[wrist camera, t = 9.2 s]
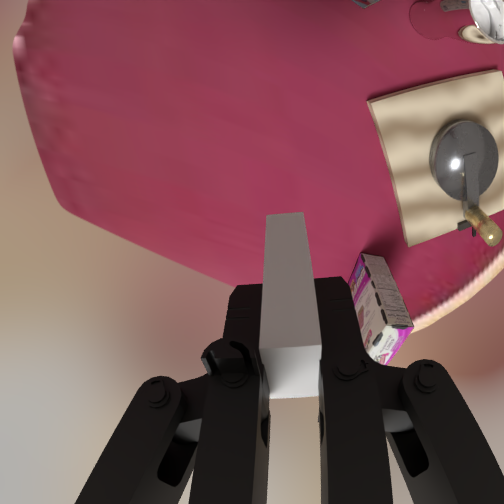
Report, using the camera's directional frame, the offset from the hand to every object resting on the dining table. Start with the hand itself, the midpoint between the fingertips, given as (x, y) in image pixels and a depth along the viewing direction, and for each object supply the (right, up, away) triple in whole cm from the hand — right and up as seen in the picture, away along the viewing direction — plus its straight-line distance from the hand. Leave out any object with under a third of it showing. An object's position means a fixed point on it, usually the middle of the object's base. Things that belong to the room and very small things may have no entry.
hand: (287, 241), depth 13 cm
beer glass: (+22, +31, +13) cm, 40 cm away
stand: (+30, +14, +24) cm, 40 cm away
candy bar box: (+18, -5, +39) cm, 43 cm away
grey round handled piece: (+30, +11, +23) cm, 40 cm away
